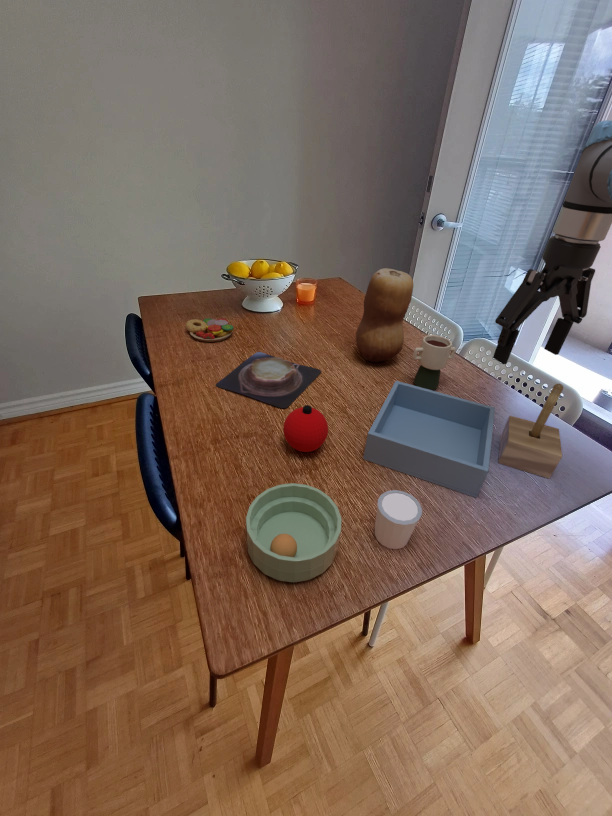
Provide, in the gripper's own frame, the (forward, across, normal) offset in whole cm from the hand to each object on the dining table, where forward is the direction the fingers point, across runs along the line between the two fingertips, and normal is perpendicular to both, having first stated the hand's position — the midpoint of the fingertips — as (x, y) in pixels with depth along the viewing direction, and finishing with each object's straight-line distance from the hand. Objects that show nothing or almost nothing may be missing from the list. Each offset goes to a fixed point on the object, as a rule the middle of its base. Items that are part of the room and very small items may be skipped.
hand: (526, 356), depth 76 cm
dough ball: (+18, +53, +12) cm, 58 cm away
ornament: (+21, +40, -11) cm, 47 cm away
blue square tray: (+20, +15, -3) cm, 26 cm away
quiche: (+20, +39, -38) cm, 58 cm away
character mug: (+20, +1, -23) cm, 31 cm away
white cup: (+21, +35, +14) cm, 43 cm away
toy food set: (+20, +48, -68) cm, 86 cm away
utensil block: (+20, -2, +7) cm, 22 cm away
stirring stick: (+20, -2, +7) cm, 22 cm away
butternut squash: (+20, +6, -40) cm, 45 cm away
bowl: (+21, +51, +10) cm, 56 cm away
